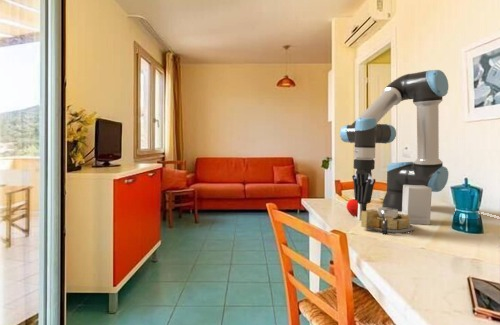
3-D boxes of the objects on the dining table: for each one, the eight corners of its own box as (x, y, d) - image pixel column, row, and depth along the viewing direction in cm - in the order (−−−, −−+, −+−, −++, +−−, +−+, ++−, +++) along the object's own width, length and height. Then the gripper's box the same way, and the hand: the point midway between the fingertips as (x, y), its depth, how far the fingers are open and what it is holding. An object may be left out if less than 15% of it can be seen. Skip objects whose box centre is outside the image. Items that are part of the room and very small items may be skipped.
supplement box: (430, 225, 131) (432, 188, 130) (406, 223, 133) (408, 187, 132) (423, 219, 140) (425, 185, 139) (401, 218, 142) (402, 184, 141)
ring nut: (385, 217, 138) (386, 203, 137) (417, 226, 124) (418, 210, 124) (349, 222, 129) (349, 207, 128) (379, 232, 116) (380, 215, 115)
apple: (357, 212, 152) (358, 197, 152) (368, 216, 145) (369, 200, 144) (342, 213, 150) (343, 197, 149) (353, 217, 142) (354, 201, 142)
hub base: (374, 219, 141) (374, 202, 140) (419, 227, 128) (420, 209, 128) (352, 227, 126) (352, 209, 125) (400, 238, 113) (401, 218, 113)
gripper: (347, 157, 130) (344, 216, 132) (364, 160, 117) (361, 224, 119) (364, 157, 131) (361, 215, 133) (383, 160, 119) (380, 224, 121)
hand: (361, 219), depth 126 cm, fingers closed
